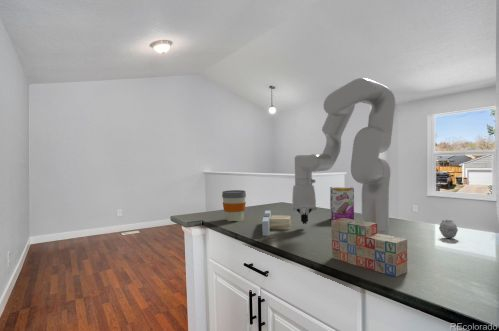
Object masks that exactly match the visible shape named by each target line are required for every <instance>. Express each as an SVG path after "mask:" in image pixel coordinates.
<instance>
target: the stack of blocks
mask: <svg viewBox="0 0 499 331" xmlns="http://www.w3.org/2000/svg"><path fill="white" fill-rule="evenodd" d="M330 221H331V226H330V227H331V248H332V249H331V255H332V256H331V257H332V258H331V259H336V260H339V261H341V262H345V263H348V264H351V265H354V266H358V267H362V268H365V269H368V270H371V271H375V272H377V271H378V273H382V274H386V275H388V276H391V277H394V278H397V277H399V276H401V275H404V274H406V273H408V239H407V238H403V237H398V236H393V235H390V234H389V235H384V234H377V223H372V222H366V221H362V220H359V219H357V220H356V219H354V220H352V219H346V218H341V219H337V220H330Z"/></svg>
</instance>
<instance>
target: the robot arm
mask: <svg viewBox="0 0 499 331" xmlns="http://www.w3.org/2000/svg"><path fill="white" fill-rule="evenodd" d="M359 103H362V104H367V105H370V106H371V109H370V111H369V114H368V122H367V126H365V127H363V128H361V129H360V130H359V131H357V132H356V134H355V137H354V139H353V143H352V151H351V152H352V153H351V161H350V173H351V178H353V180H354V181H355V182H357V183H358V184H362V187H361V221H366V222H372V223H377V234H384V235H389V236H390V208H389V207H390V203H389V201H390V198H389V197H390V196H389V194H390V192H389V191H390V188H389V187H390V180H391V179H390V178H391V166H390V164H389V162H388V161H387V160H386V159H385V158H383V157H380V154H382V153H385V152H386V151H388V150H389V148H390V146H391V143H392V136H393V135H392V133H393V127H394V126H393V125H394V119H395V118H394V116H395V109H396V97H395V95H394V93H393V91H392V90H391V88H389V87H387V85H384V84H382V83H380V82H377V81H375V80H372V79H369V78H365V77H359V78H356V79H353V80H351V81H349V82H348V83H346V84H345V85H343V86H340V87H338V88H337V89H335V90H334V91H332V92H331V93H329V94H328V95H327V96H326V97H325V99H324V102H323V110H324V112H325V113H326V114H327V115H326V119H325V121H324V123H323V125H322V127H321V130H322V133H323V135H324V136H325V139H326V143H325V146H324V149H323V151H322V153H313V154H312V153H311V154H299V155H296V156H294V185H293V187H292V198H291V199H292V208H291V210H292V211H295V212H298V214H300V222H302V224H303V225H304V224H305V225H308V224H307V222H308V223H309V214H310V213H311V212H313V211H317V206H316V205H317V202H316V198H317V197H316V192H315V191H316V189H315V186H314V184H316V179H313V172H314V173H315V172H324V171H325V172H326V171H329V170H330V169H332V167H334V165H335V164H336V161H337V160H338V157H339V154H340V153H341V148H342V136H343V133H344V131H345V130H346V127H347V125H348V123H349V121H350V118H351V117H352V114H353V112H354V110H355V106H356V105H357V104H359ZM303 209H305V212H304V210H303Z"/></svg>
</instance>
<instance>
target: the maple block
mask: <svg viewBox="0 0 499 331" xmlns="http://www.w3.org/2000/svg"><path fill="white" fill-rule="evenodd" d="M291 216H292V215H271V217H270V230H291V228H292V217H291Z"/></svg>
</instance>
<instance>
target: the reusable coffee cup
mask: <svg viewBox="0 0 499 331" xmlns="http://www.w3.org/2000/svg"><path fill="white" fill-rule="evenodd" d="M221 193H222V194H221V197H222V206H223V211H224V215H225V220H228V221H227V222H229V221H238V222H242V221H243V220H244V215H245V210H246V197H247V195H246V194H247V193H246V190H243V189H242V190H241V189H239V190H237V189H233V190H230V189H229V190H223V191H222V192H221ZM241 220H242V221H241Z"/></svg>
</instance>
